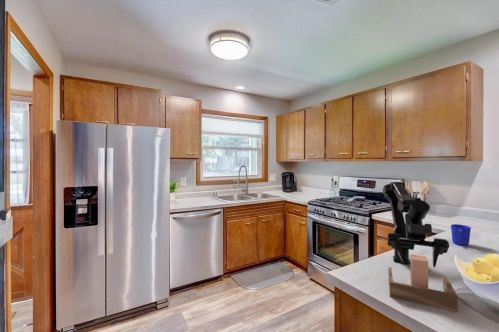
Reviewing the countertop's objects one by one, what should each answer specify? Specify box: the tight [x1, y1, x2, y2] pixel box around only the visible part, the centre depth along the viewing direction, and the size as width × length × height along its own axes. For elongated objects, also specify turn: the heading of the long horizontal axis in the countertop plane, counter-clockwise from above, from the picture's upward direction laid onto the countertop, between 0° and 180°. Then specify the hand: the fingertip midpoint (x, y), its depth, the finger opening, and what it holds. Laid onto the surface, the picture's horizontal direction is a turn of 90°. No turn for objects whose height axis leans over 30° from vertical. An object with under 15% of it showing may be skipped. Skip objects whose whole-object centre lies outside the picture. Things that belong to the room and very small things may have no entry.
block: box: [410, 254, 429, 289], centre depth 82 cm, size 4×4×13 cm
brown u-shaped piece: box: [387, 266, 459, 313], centre depth 83 cm, size 13×18×5 cm
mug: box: [450, 223, 472, 247], centre depth 129 cm, size 8×12×10 cm
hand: (418, 264), depth 84 cm, fingers open, 9 cm apart
